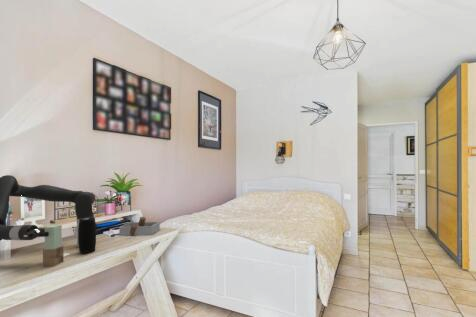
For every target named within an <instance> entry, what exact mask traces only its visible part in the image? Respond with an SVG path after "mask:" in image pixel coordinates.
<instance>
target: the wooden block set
mask: <svg viewBox="0 0 476 317" xmlns="http://www.w3.org/2000/svg"><path fill="white" fill-rule="evenodd" d="M138 222H139V224H138V225H137V224H135V225H133V226H131V230H130V234H131V235H130V236H135V235H134V233H135V231H136V229H137V227H141V226H144V224H145V222H146V217H144V216H140V217H139V220H138ZM148 226H150V225H148Z"/></svg>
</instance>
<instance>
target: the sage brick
mask: <svg viewBox="0 0 476 317" xmlns="http://www.w3.org/2000/svg"><path fill="white" fill-rule="evenodd" d="M44 227H45V232H49V236H47V237H44V249H45V250H52V249H57V248H59V247H61V246H63V245H62V244H63V243H62V241H63V240H62V239H63V238H62V235H63V234H62V233H63V232H62V227H63V226H62V224H51V225H48V226H44Z"/></svg>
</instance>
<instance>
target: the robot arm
mask: <svg viewBox="0 0 476 317" xmlns="http://www.w3.org/2000/svg"><path fill="white" fill-rule="evenodd" d="M21 195H22V196H21ZM10 197H19V198H20V197H21V198H28V199H33V200H34V199H36V200H40V201H45V202H58V203H60V202H61V203H64V202H65V203H66V202H68V203H74V211H75V216H76V247H77V248H79V246H78V245H79V243H78V227H79V220H80V218H85V217H89V216H92V217H94V216H95V214H94V211H93V204H94V203H95V201H96V196H95V195H94V193H92V192H89V191H79V190H72V189H67V188H64V187H60V186H59V187H58V186H55V185H49V184H40V185H35V186H25V185H21V184H19V182H18V180H17V177H15V176H14V175H10V174H8V175H7V174H6V175H1V176H0V241H33V240H34V239H36V238H38V239H39V238H43V237H44V238H45V237H47V236H49V232H45V227H46V226H44V227H38V226H37V225H35V224H20V225H7V217H8V213H9V208H10ZM94 218H95V217H94Z"/></svg>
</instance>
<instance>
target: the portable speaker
mask: <svg viewBox="0 0 476 317" xmlns="http://www.w3.org/2000/svg"><path fill="white" fill-rule="evenodd" d="M78 243H79V245H78V246H79V247H78V251H79V253H80V254H82V255H84V254H85V255H86V254H89V253H90V252H95V251H96V245H97V225H96V217H92V216H89V217H85V218H80V220H79V227H78Z"/></svg>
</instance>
